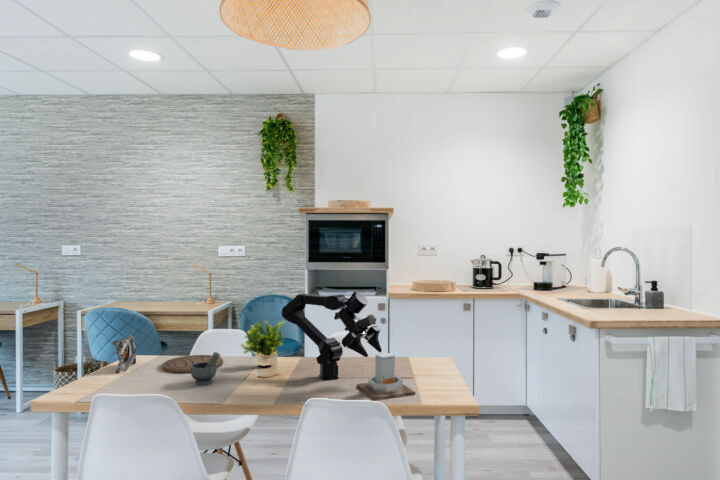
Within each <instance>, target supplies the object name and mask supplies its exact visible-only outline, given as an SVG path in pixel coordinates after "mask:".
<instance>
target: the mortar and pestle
mask: <svg viewBox="0 0 720 480" xmlns="http://www.w3.org/2000/svg"><path fill="white" fill-rule="evenodd" d="M212 355H213V356H212V358H211V359H210V361H209V362H202V363H196V364H193V365H191V367H190V371H191V373H190V375H191V378H192V379H194V381H195V382H194V383H195V385H196V386H199V387H204V386H209V385H211V384H213V378H214V377H215V376H216V373H217V370H218V368H217V364H216V362H217V360H218V358H219V357H221V353H219V352H217V351H216V352H215V351H214V352H213V353H212Z"/></svg>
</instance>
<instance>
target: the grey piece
mask: <svg viewBox="0 0 720 480" xmlns="http://www.w3.org/2000/svg"><path fill="white" fill-rule="evenodd" d="M112 345H113V346H114V347H115V353H116V354H117V356H118V362H119V363H118V364H117V369H116V370H115V374H121V372H127V371H128V370H129V369H130V366H131V365H135V364H137V357H136V356H137V351H136V344H135V336H134V335H133V334H130V335H129V336H127V338H123V339H121V340H120V339H119V340H114V341H112Z"/></svg>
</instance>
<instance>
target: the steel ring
mask: <svg viewBox="0 0 720 480" xmlns="http://www.w3.org/2000/svg"><path fill="white" fill-rule="evenodd" d="M367 381H368V382H367V383H368V388H369V389H371V390H372V391H373V392H380V393H393V392H399V391H400V390H401V389H402V386H403V385H404V384H403V383H404V382H403V379H402V378H400V377H399V376H397V375H395V376H394V383H390V384H383V383H376V382H375V375H372V376H371V377H369V378H368V380H367Z"/></svg>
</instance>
